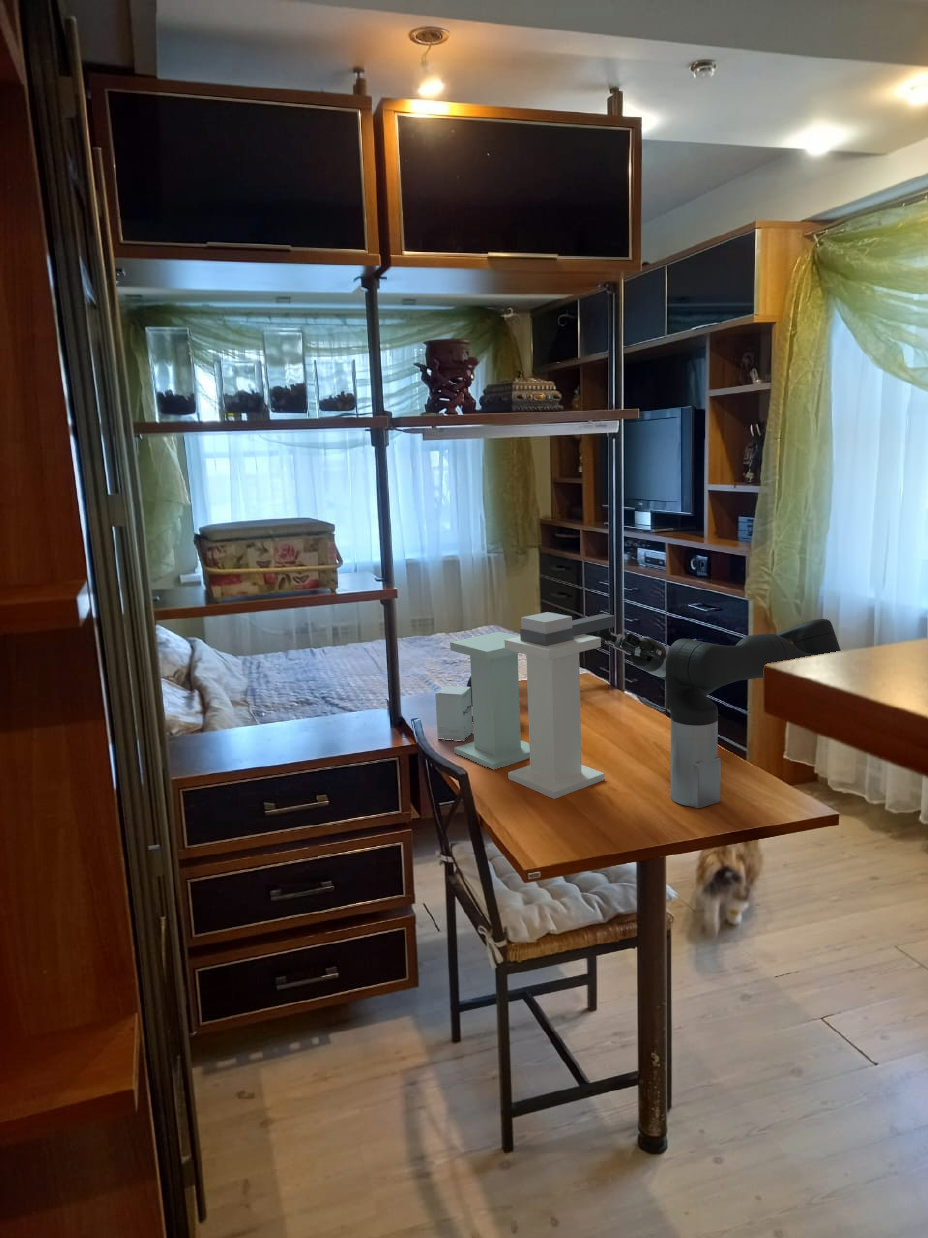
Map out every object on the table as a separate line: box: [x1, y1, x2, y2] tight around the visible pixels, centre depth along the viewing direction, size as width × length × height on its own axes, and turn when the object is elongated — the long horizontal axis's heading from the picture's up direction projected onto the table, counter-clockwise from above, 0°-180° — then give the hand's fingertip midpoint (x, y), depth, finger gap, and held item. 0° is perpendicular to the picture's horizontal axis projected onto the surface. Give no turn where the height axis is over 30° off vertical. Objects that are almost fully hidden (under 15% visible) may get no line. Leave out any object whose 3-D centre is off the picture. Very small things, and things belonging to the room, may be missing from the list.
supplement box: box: [434, 685, 474, 741], centre depth 217 cm, size 7×7×13 cm
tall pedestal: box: [504, 634, 605, 800], centre depth 184 cm, size 15×15×32 cm
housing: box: [519, 611, 616, 646], centre depth 184 cm, size 23×8×5 cm, turn 127°
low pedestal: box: [449, 631, 530, 770], centre depth 202 cm, size 15×15×28 cm
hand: (612, 634), depth 192 cm, fingers open, 8 cm apart
